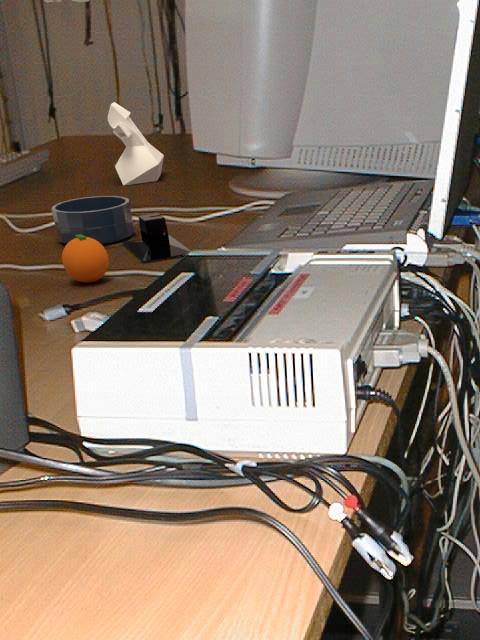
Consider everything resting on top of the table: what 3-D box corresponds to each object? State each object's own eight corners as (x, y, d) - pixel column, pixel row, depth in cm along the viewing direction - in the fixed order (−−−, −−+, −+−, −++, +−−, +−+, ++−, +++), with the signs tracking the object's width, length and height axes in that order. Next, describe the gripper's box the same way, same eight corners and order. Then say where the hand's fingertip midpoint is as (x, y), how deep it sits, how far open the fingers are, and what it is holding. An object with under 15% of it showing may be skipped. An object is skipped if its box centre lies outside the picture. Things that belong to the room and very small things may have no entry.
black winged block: (193, 255, 125) (188, 221, 122) (141, 264, 122) (135, 229, 120) (169, 236, 134) (164, 204, 132) (120, 244, 132) (114, 212, 129)
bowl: (74, 252, 129) (66, 216, 126) (49, 238, 137) (42, 204, 134) (146, 238, 134) (140, 203, 132) (119, 225, 142) (112, 192, 140)
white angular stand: (167, 170, 183) (156, 96, 176) (160, 184, 171) (147, 104, 164) (125, 173, 182) (112, 99, 175) (115, 187, 170) (100, 107, 163)
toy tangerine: (76, 291, 112) (65, 244, 109) (61, 281, 116) (51, 235, 113) (119, 281, 115) (110, 235, 112) (103, 272, 119) (94, 228, 116)
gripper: (-18, -136, 102) (13, 4, 109) (37, -160, 88) (68, 3, 95) (37, -135, 105) (64, 1, 113) (99, -158, 91) (125, 0, 98)
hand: (66, 2), depth 104 cm, fingers open, 8 cm apart
